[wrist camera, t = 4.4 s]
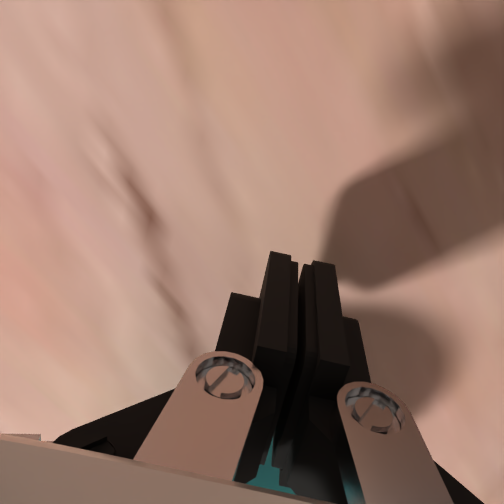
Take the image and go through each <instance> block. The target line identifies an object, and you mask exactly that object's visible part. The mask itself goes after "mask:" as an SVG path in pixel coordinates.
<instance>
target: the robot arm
mask: <svg viewBox="0 0 504 504" xmlns="http://www.w3.org/2000/svg"><path fill="white" fill-rule="evenodd" d="M272 438H273V445H272V460H271V466H272V467H275V468H279V469H280V471H279V486H283V487H288V488H291V489H292V490H293V492H294V493H295V494H296V495H294V494H289V493H285V492H280V491H276V490H271V489H267V488H262V487H257V486H253V485H248V484H246V483H248V482H249V481H251V480H252V479H254V478H256V476H257V472H258V469H259V465H260V464H261V465H264V464H265V462H266V458H267V455H268V452H269V448H270V445H271V441H272ZM0 504H484V503H483V502H482V501H481V500H479V499H478V498H477V497H476V496H475V495H473V494H472V493H471V492H470V491H469V490H468V489H466V488H465V487H464V486H463V485H462V484H461V483H459V482H458V481H457V480H456V479H455V478H454V477H452V476H451V475H450V474H449V473H448V472H446V471H445V470H444V469H443V468H442V467H441V466H439V465H438V464H437V463H436V462H435V461H434V460H433V459H432V457H431V455H430V452H429V450H428V448H427V446H426V444H425V442H424V440H423V438H422V435H421V433H420V431H419V429H418V427H417V425H416V423H415V421H414V419H413V416H412V414H411V412H410V411H409V409H408V408H407V406H406V405H405V404H404V403H403V402H402V401H401V400H400V399H399V398H398V397H397V396H396V395H395V394H393V393H392V392H390V391H389V390H387V389H385V388H383V387H381V386H378V385H376V384H372V383H371V380H370V376H369V371H368V366H367V361H366V356H365V351H364V347H363V342H362V337H361V332H360V327H359V323H358V320H356V319H352V318H347V317H343V316H342V309H341V303H340V296H339V290H338V283H337V277H336V270H335V265H333V264H328V263H324V262H319V261H315V260H313V262H312V264H311V265H307V264H304V265H303V268H302V272H301V275H300V279H299V282H298V262H293V261H291V255H287V254H282V253H278V252H273V251H270V255H269V259H268V263H267V267H266V272H265V276H264V280H263V284H262V289H261V293H260V297H259V298H256V297H251V296H246V295H242V294H237V293H233V292H231V295H230V299H229V302H228V306H227V310H226V313H225V317H224V321H223V324H222V328H221V331H220V335H219V339H218V342H217V346H216V349H215V351H213V352H209V353H205V354H202V355H201V356H199V357H197V358H195V359H194V361H193V362H192V363H191V364H190V365H189V367H188V368H187V370H186V372H185V373H184V375H183V377H182V378H181V380H180V382H179V383H178V385H177V387H176V388H175V389H173V390H170V391H168V392H165V393H163V394H160V395H158V396H155V397H153V398H150V399H148V400H145V401H143V402H140V403H138V404H135V405H133V406H130V407H128V408H125V409H123V410H120V411H118V412H115V413H112V414H110V415H107V416H105V417H102V418H100V419H97V420H95V421H92V422H90V423H87V424H85V425H82V426H80V427H77V428H75V429H72V430H70V431H69V432H67V433H65V434H63V435H61V436H59V437H58V438H57V439H56V440H55V441H41V434H0Z"/></svg>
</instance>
